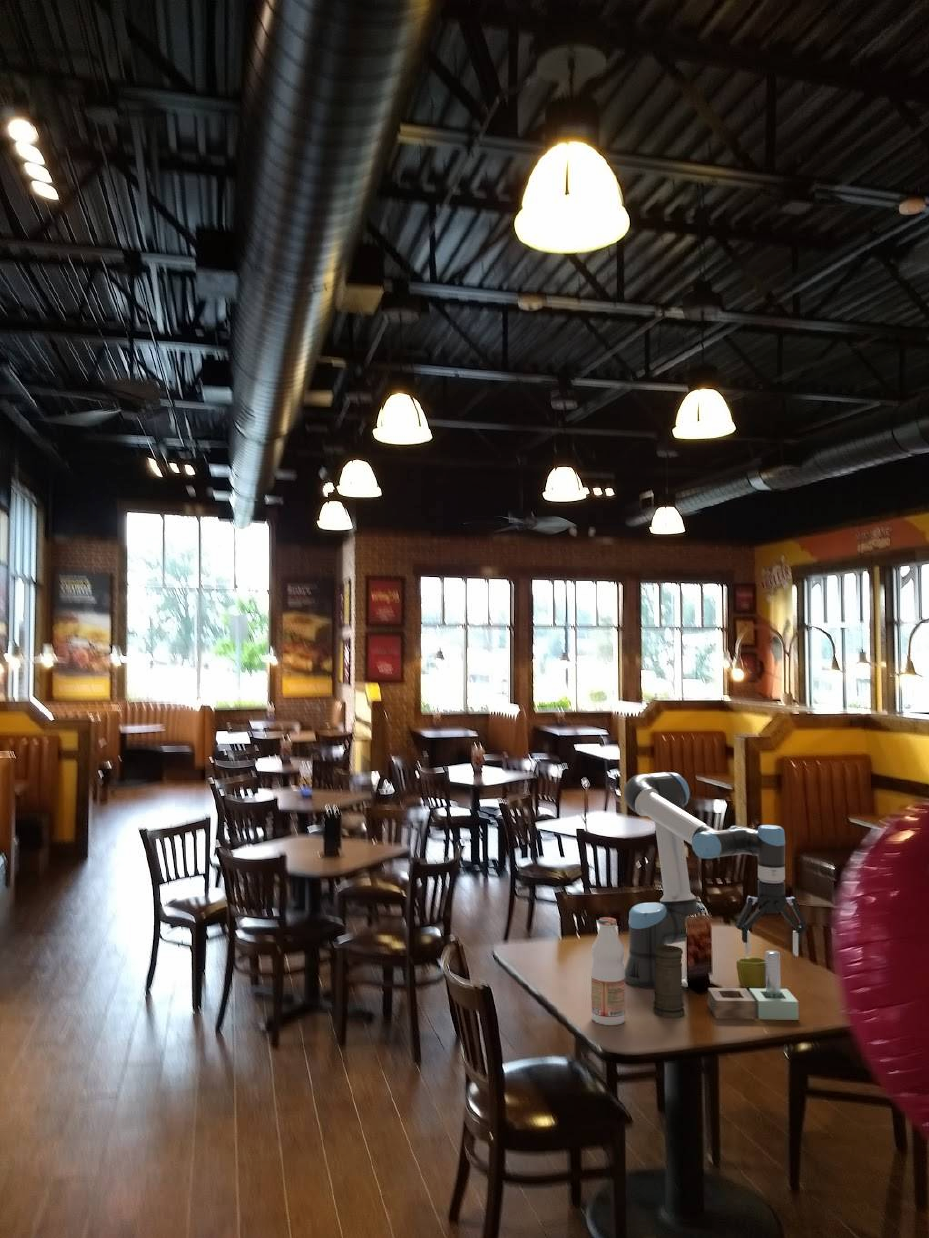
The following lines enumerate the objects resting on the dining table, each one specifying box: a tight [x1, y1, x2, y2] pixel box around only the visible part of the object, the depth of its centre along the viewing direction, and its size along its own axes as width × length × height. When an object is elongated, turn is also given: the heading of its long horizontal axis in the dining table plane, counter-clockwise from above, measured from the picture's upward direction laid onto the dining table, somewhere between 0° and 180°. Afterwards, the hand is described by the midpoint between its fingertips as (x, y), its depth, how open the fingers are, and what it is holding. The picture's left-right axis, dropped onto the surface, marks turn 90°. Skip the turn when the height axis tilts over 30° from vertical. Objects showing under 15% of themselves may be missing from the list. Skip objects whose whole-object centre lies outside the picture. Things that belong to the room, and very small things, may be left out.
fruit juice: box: [590, 916, 626, 1026], centre depth 276 cm, size 9×9×28 cm
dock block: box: [748, 988, 800, 1021], centre depth 281 cm, size 11×11×5 cm
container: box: [652, 944, 685, 1019], centre depth 282 cm, size 9×9×18 cm
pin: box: [764, 950, 782, 999], centre depth 281 cm, size 4×4×17 cm
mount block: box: [707, 987, 756, 1020], centre depth 282 cm, size 11×11×5 cm
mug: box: [736, 956, 766, 990], centre depth 306 cm, size 12×10×10 cm
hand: (771, 954), depth 282 cm, fingers open, 13 cm apart
